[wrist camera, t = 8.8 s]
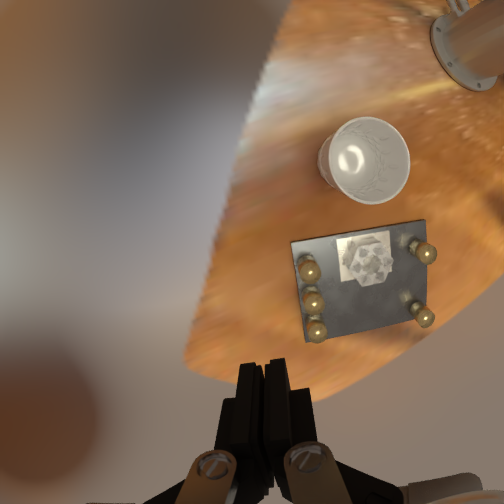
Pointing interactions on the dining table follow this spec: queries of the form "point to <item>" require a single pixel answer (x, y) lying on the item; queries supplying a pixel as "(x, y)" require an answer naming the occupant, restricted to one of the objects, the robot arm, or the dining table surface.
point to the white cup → (365, 160)
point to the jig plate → (349, 289)
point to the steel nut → (378, 267)
